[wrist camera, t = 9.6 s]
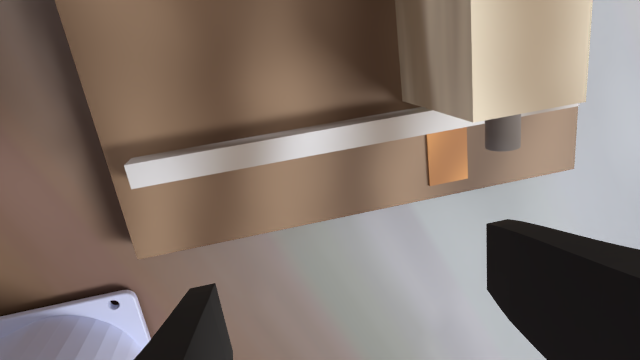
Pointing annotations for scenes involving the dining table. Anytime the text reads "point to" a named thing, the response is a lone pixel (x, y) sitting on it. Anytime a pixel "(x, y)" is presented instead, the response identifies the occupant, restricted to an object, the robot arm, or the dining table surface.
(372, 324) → the dining table surface
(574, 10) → the block
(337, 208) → the walnut board
